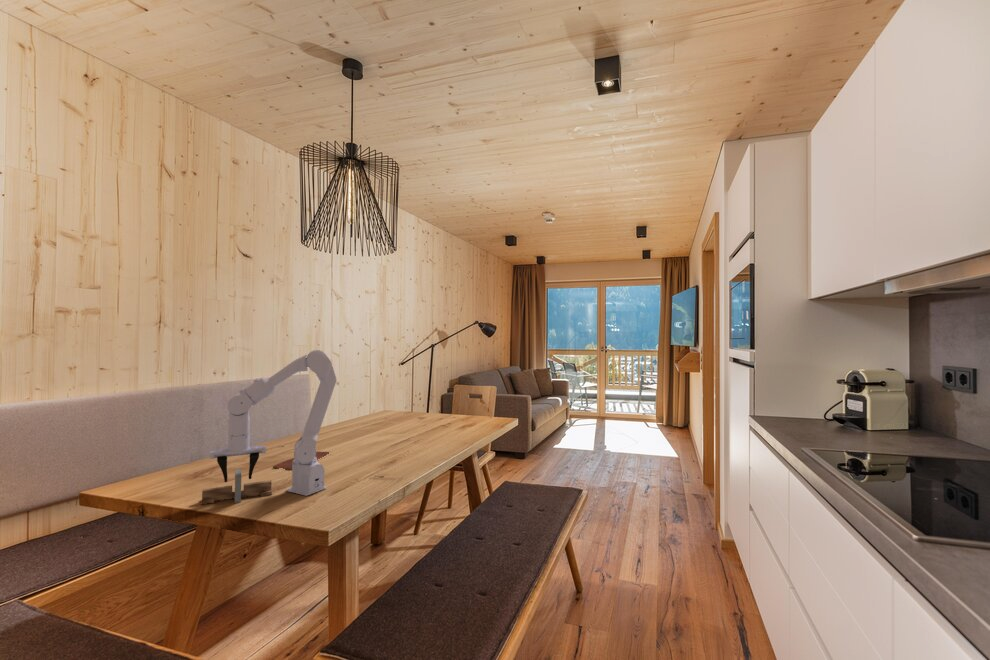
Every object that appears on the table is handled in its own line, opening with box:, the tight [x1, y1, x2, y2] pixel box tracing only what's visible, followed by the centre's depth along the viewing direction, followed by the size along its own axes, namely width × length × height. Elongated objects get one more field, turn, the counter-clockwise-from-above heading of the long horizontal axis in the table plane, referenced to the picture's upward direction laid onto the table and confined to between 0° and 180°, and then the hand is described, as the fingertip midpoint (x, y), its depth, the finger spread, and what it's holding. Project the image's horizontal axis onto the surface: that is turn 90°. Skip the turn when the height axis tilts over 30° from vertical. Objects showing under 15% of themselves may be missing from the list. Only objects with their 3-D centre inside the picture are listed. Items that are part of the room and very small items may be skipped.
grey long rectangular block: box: [234, 468, 242, 504], centre depth 136 cm, size 10×2×7 cm, turn 30°
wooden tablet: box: [272, 451, 330, 471], centre depth 177 cm, size 27×10×2 cm, turn 166°
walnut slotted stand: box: [201, 479, 273, 505], centre depth 136 cm, size 18×5×4 cm, turn 119°
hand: (238, 479), depth 136 cm, fingers open, 6 cm apart
